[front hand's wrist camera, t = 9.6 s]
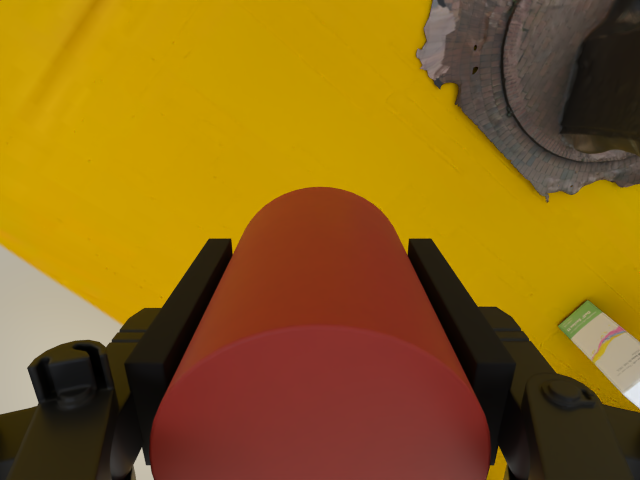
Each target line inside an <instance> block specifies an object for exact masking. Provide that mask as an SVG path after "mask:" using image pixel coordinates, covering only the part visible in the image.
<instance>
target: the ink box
mask: <svg viewBox="0 0 640 480" xmlns="http://www.w3.org/2000/svg"><path fill="white" fill-rule="evenodd" d="M558 327H559V328H560V329H561V330H562V331H563V332H564V333H565V334H566V335H567V336H568V337H569V338H570V339H571V340H572V341H573V342H574V343H575V344H576V345H577V346H578V347H579V348H580V349H581V350H582V351H583V352H584V354H585V355H586V356H587V357H588V358H589V359H590V360H591V361H592V362H593V363H594V364H595V365H596V366H597V367H598V368H599V369H600V370H601V371H602V372H603V373H604V375H605V376H606V377H607V378H608V379H609V380H610V381H611V382H612V383H613V384H614V385H615V386H616V387H617V388H618V390H619V391H620V392H621V393H622V394H623V395H624V396H625V397H626V398H628V399H629V400H630V401H631V402H632V403H633V404H635V405H636V406H637V407H638V408H639V409H640V342H639V341H638V340H637V339H635V338H634V337H633V336H632V335H630V334H629V333H628V332H627V331H626V330H624V329H623V328H622V327H621V326H619V325H618V324H617V323H616V322H614V321H613V320H612V319H611V318H610V317H608V316H607V315H606V314H605V313H603V312H602V311H601V310H600V309H598V308H597V307H596V306H595V305H594V304H592V303H591V302H590V301H588V300H587V301H586V302H585V303H584V304H582V305H581V306H580V307H579V308H578V309H577V310H576V311H575V312H573V313H572V314H571V315H570V316H569V317H568V318H567V319H566V320H564V321H563V322H562V323H561V324H560V325H559V326H558Z"/></svg>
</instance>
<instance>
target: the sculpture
mask: <svg viewBox="0 0 640 480" xmlns="http://www.w3.org/2000/svg"><path fill="white" fill-rule="evenodd" d="M424 31H425V35H426V39H427V42H426V43H425V45H424V47H423V49H422V50H420V49H418V50H417V54H416V55H417V58H419V59H420V61H421V63H422V65H423V66H422V67H421V68H420V69H424V70H427V71H428V76H429V77H430V78H432V79H433V80H434V84H435V85H436V86H437V87H438V88H439V89H440V87H441V85H442V84H444V83H448V82H452V83H456V84H458V86H459V92H458V96H457V99H456V102H455V104H456V105H457V104H458V106H460V107H461V108H462V111H463V112H464V113H465V114H466V115H467V116H468V118H469V119H471V120H472V121H473V122H474V123H475V124H476V125H478V128H480V130H481V131H482V132H484V134H485V135H486V136H487V137H488V139H490V141H491V142H493V144H494V145H495V146H496V148H497V149H498V150H499V151H501V153H503V154H504V156H505V157H506V158H507V159H509V160H512V161H511V164H513V165H514V167H515V168H517V170H518V171H519V172H520V173H521V174H522V175H524V177H525V178H526V179H528V180H530V181H531V183H532V185H533V186H534V187H535V189H536V190H537V192H539V194H540V195H542V196H546V199H547V200H546V201H547V202H549V201H548V199H549V195H548V194H547V193H553V192H558V191H563V192H565V193H567V194H570V195H573V194H575V193H577V192H578V191H579V190H580V189H581V188H582V187H583V186H585V185H588V184H591V183H593V182H595V181H597V180H603V179H606V180H608V181H611V182H616V183H617V185H618V186H620V187H628V186H632V185H635V184H640V0H433V3H432V8H431V12H430V17H429V19H428V21H427V23H426V25H425V27H424ZM475 45H477V49H476V51H474V46H475ZM474 67H478V70H477V72H476V73H475V74H472V72H473V68H474ZM571 185H573V187H570V186H571Z"/></svg>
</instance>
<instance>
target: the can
mask: <svg viewBox="0 0 640 480" xmlns="http://www.w3.org/2000/svg"><path fill="white" fill-rule="evenodd" d="M490 457H491V441H490V431H489V427H488V424H487V420H486V416H485V414H484V412H483V410H482V408H481V405H480V403H479V401H478V399H477V397H476V395H475V393H474V391H473V389H472V387H471V385H470V383H469V381H468V379H467V377H466V375H465V372H464V370H463V368H462V366H461V364H460V362H459V360H458V358H457V356H456V354H455V352H454V350H453V348H452V346H451V344H450V342H449V340H448V338H447V336H446V334H445V331H444V329H443V327H442V325H441V323H440V321H439V319H438V317H437V315H436V313H435V311H434V309H433V307H432V305H431V303H430V301H429V299H428V297H427V295H426V293H425V290H424V288H423V286H422V284H421V282H420V280H419V278H418V276H417V274H416V272H415V270H414V268H413V266H412V264H411V262H410V260H409V258H408V256H407V254H406V252H405V249H404V247H403V245H402V243H401V241H400V239H399V237H398V235H397V233H396V231H395V229H394V227H393V226H392V224H391V223H390V221H389V220H388V218H387V217H386V216H385V215H384V214H383V213H382V212H381V211H380V210H379V209H378V208H377V207H376V206H375V205H373V204H372V203H370V202H369V201H367V200H366V199H364V198H363V197H360V196H358V195H356V194H354V193H351V192H348V191H345V190H342V189H336V188H330V187H311V188H304V189H299V190H295V191H292V192H289V193H286V194H284V195H282V196H280V197H278V198H276V199H274V200H273V201H271V202H270V203H268V204H267V205H265V206H264V207H263V208H262V209H261V210H260V211H259V212H258V213H257V214H256V215H255V216H254V217H253V219H252V220H251V221H250V223H249V224H248V226H247V228H246V229H245V231H244V233H243V235H242V237H241V239H240V241H239V243H238V245H237V247H236V249H235V251H234V253H233V256H232V258H231V260H230V262H229V264H228V266H227V268H226V270H225V272H224V274H223V276H222V278H221V280H220V282H219V284H218V286H217V288H216V290H215V292H214V294H213V296H212V299H211V301H210V303H209V305H208V307H207V309H206V311H205V313H204V315H203V317H202V319H201V321H200V323H199V325H198V327H197V329H196V331H195V333H194V335H193V337H192V339H191V342H190V344H189V346H188V348H187V350H186V352H185V354H184V356H183V358H182V360H181V362H180V364H179V366H178V368H177V370H176V372H175V374H174V376H173V378H172V380H171V382H170V385H169V387H168V389H167V391H166V393H165V395H164V397H163V399H162V401H161V403H160V405H159V408H158V410H157V413H156V415H155V417H154V420H153V424H152V429H151V433H150V443H149V458H150V464H151V471H152V475H153V478H154V480H486V478H487V475H488V471H489V468H490Z"/></svg>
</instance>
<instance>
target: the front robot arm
mask: <svg viewBox="0 0 640 480" xmlns="http://www.w3.org/2000/svg"><path fill="white" fill-rule="evenodd" d="M232 256H233V254H232V243H231V239H209V240H208V241H207V242H206V244H205V245H204V247H203V248H202V250H201V251H200V253H199V254H198V256H197V257H196V259H195V260H194V261H193V263H192V264H191V266H190V267H189V269H188V270H187V272H186V273H185V275H184V276H183V278H182V279H181V281H180V282H179V283H178V285H177V286H176V288H175V289H174V291H173V292H172V294H171V295H170V297H169V298H168V300H167V301H166V303H165V304H164V305H163V307H162V308H144V309H142V310H141V311H139V312H138V313H136V314H135V315H133V316H132V317H130V318H129V319H128V320H127V321H126V323H125V324H124V325H123V326H122V328H121V329H120V332H119V333H117V334H116V335H115V337H114V338H113V339H112V342H111V343H109V344H108V345H107V347H105V346H104V345H102V344H101V343H100V342H97V341H92V340H80V341H73V342H69V343H65V344H61V345H59V346H56V347H54V348H52V349H50V350H47V351H45V352H44V353H43V354H41V355H40V356H38V357H37V358H35V359H34V360H33V362H32V363H31V364H30V365H29V366H28V368H27V369H28V372H29V375H30V378H31V381H32V384H33V387H34V390H35V393H36V396H37V399H38V402H39V403H38V406H35V407H32V408H28V409H24V410H19V411H14V412H10V413H5V414H1V415H0V480H136V476H135V471H134V466H133V464H134V462H135V460H136V458H137V456H138V454H139V452H140V450H141V448H142V449H143V453H144V458H145V462H146V465H151V464H150V458H149V443H150V433H151V429H152V424H153V420H154V417H155V415H156V413H157V410H158V408H159V405H160V403H161V401H162V399H163V397H164V395H165V393H166V391H167V389H168V387H169V385H170V382H171V380H172V378H173V376H174V374H175V372H176V370H177V368H178V366H179V364H180V362H181V360H182V358H183V356H184V354H185V352H186V350H187V348H188V346H189V344H190V342H191V339H192V337H193V335H194V333H195V331H196V329H197V327H198V325H199V323H200V321H201V319H202V317H203V315H204V313H205V311H206V309H207V307H208V305H209V303H210V301H211V299H212V296H213V294H214V292H215V290H216V288H217V286H218V284H219V282H220V280H221V278H222V276H223V274H224V272H225V270H226V268H227V266H228V264H229V262H230V260H231V258H232ZM408 258H409V260H410V262H411V264H412V266H413V268H414V270H415V272H416V274H417V276H418V278H419V280H420V282H421V284H422V286H423V288H424V290H425V293H426V295H427V297H428V299H429V301H430V303H431V305H432V307H433V309H434V311H435V313H436V315H437V317H438V319H439V321H440V323H441V325H442V327H443V329H444V331H445V334H446V336H447V338H448V340H449V342H450V344H451V346H452V348H453V350H454V352H455V354H456V356H457V358H458V360H459V362H460V364H461V366H462V368H463V370H464V372H465V375H466V377H467V379H468V381H469V383H470V385H471V387H472V389H473V391H474V393H475V395H476V397H477V399H478V401H479V403H480V405H481V408H482V410H483V412H484V414H485V416H486V420H487V424H488V427H489V431H490V441H491V457H490V465H494V464H495V459H496V454H497V450H498V445H499V447H500V449H501V451H502V453H503V455H504V457H505V460H506V462H507V466H506V471H505V475H504V479H503V480H640V413H638V412H634V411H629V410H625V409H620V408H616V407H611V406H608V405H604V404H602V403H601V401H600V400H599V398H598V397H597V395H596V394H595V393H594V392H593V391H592V390H590V389H589V388H588V387H587V386H585V385H584V384H582V383H580V382H578V381H576V380H574V379H572V378H570V377H567V376H564V375H560V374H557V373H556V372H555V371H554V370H553V368H552V367H551V366H550V365H549V363H548V362H547V361H546V360H545V358H544V357H543V356H542V355H541V353H540V352H539V351H538V350H537V348H536V347H535V346H534V345H533V343H532V342H531V341H529V338H528V337H527V336H526V334H525V333H524V332H523V331H521V328H520V327H519V326H518V324H517V323H516V322H515V321H514V319H513V318H512V317H511V316H509V315H508V314H506V313H505V312H503V311H502V310H500V309H499V308H497V307H477V305H476V304H475V302H474V301H473V299H472V298H471V296H470V295H469V293H468V292H467V290H466V289H465V287H464V286H463V285H462V283H461V282H460V280H459V279H458V277H457V276H456V274H455V273H454V271H453V270H452V268H451V267H450V266H449V264H448V263H447V261H446V260H445V258H444V257H443V255H442V254H441V252H440V251H439V249H438V248H437V246H436V245H435V244H434V242H433V241H432V239H409V245H408Z"/></svg>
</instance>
